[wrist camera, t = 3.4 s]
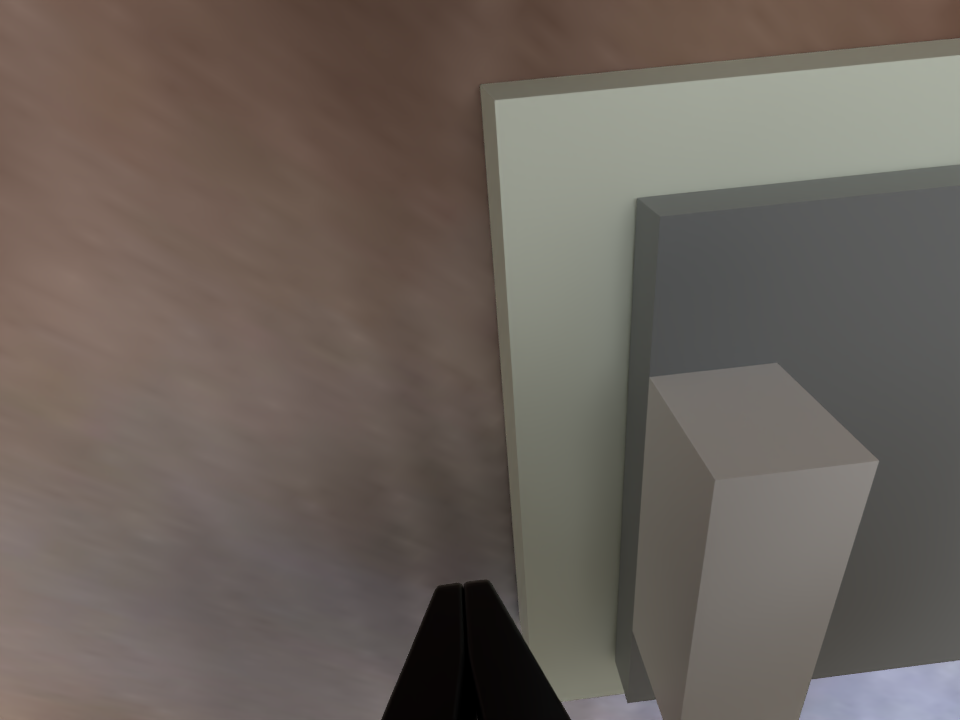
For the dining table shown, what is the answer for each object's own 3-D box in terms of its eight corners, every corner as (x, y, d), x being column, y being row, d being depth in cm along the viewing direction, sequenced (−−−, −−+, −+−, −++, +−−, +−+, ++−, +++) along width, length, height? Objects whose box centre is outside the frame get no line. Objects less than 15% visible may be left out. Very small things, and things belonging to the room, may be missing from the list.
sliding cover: (615, 661, 14) (664, 828, 11) (637, 197, 9) (743, 284, 6) (1022, 609, 15) (1174, 758, 12) (1283, 131, 9) (1690, 181, 6)
